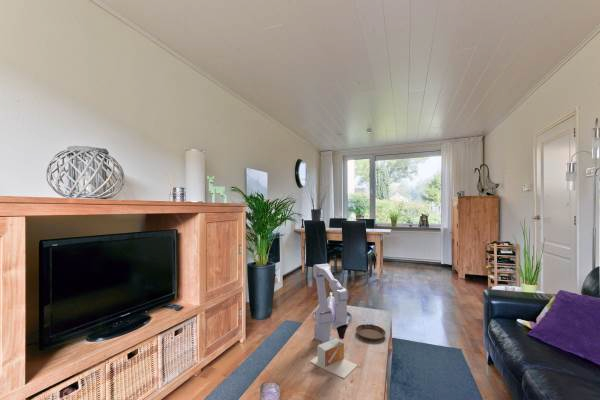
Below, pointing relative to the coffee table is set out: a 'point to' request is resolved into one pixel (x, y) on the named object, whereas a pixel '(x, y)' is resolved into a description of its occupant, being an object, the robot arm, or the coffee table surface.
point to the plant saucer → (370, 332)
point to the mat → (337, 367)
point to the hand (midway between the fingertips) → (341, 338)
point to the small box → (330, 352)
